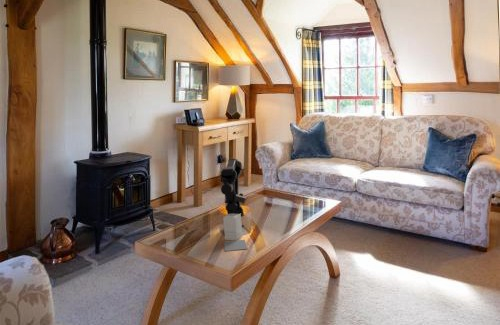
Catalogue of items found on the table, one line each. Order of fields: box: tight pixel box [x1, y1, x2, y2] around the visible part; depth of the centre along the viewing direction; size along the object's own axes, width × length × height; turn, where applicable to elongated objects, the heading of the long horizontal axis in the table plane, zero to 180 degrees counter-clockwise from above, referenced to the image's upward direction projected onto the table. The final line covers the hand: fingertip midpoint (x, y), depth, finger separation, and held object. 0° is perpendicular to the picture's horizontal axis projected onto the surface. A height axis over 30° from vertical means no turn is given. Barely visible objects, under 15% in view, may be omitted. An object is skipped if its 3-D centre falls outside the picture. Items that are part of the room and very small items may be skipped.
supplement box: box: [222, 213, 243, 241], centre depth 215 cm, size 7×7×13 cm
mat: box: [223, 239, 248, 252], centre depth 204 cm, size 14×11×1 cm
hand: (231, 218), depth 223 cm, fingers closed
